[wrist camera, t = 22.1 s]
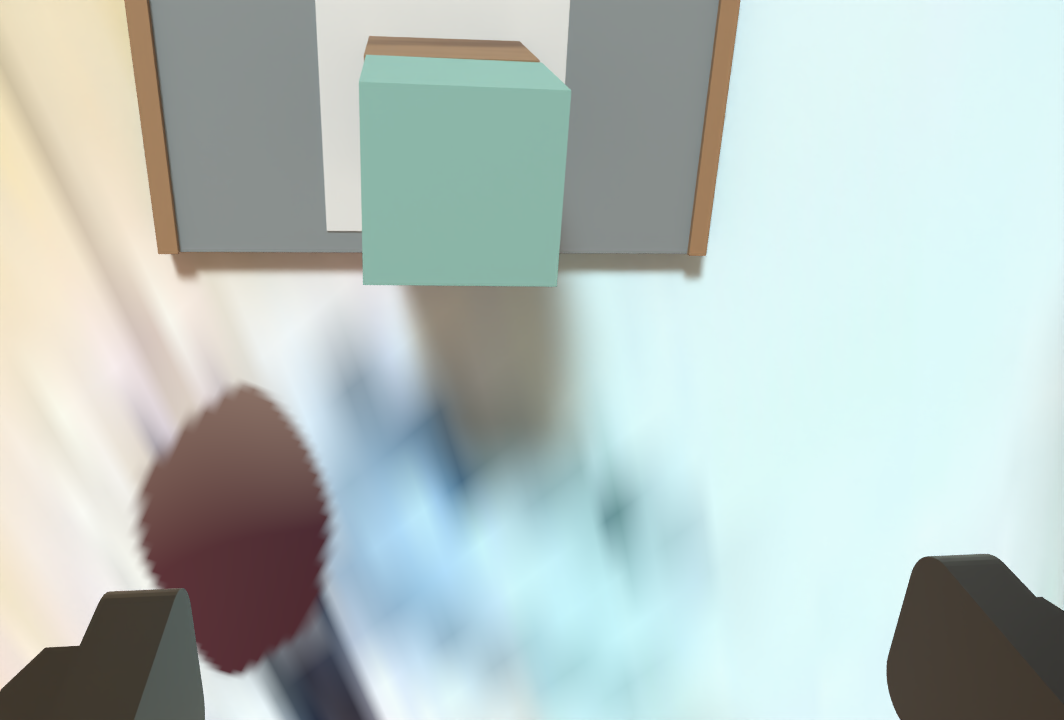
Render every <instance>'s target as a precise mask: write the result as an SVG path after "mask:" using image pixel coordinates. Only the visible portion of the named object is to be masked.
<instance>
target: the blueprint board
mask: <svg viewBox="0 0 1064 720" xmlns="http://www.w3.org/2000/svg"><path fill="white" fill-rule="evenodd" d="M124 1H125V8H126V16H127V23H128V31H129V38H130V46H131V53H132V61H133V68H134V76H135V83H136V91H137V98H138V106H139V113H140V120H141V128H142V135H143V143H144V150H145V158H146V165H147V173H148V180H149V188H150V195H151V203H152V210H153V218H154V225H155V233H156V240H157V247H158V254H178V253H179V252H362V209H361V163H360V117H359V79H360V75H361V72H362V68H363V64H364V52H365V49H366V45H367V42H368V38H369V36H386V37H414V38H443V39H472V40H501V41H520V42H521V43H522V44H523V45H524V46H525V47H526V48H527V49H528V50H529V51H530V52H531V53H532V54H534V55H535V56H536V57H537V58H538V59H539V60H540V62H541V63H543V64H544V65H545V66H546V67H547V68H548V69H549V70H550V71H552V72H553V73H554V74H555V75H556V76H557V77H558V78H559V79H560V80H561V81H562V82H563V83H564V84H565V85H566V86H567V87H568V88H569V89H570V90H571V102H570V115H569V129H568V142H567V156H566V169H565V182H564V196H563V209H562V222H561V236H560V249H559V253H668V254H688V255H689V256H706V250H707V243H708V236H709V228H710V221H711V214H712V206H713V199H714V191H715V184H716V177H717V169H718V162H719V154H720V147H721V140H722V132H723V125H724V118H725V110H726V103H727V95H728V88H729V81H730V73H731V66H732V58H733V51H734V44H735V36H736V29H737V22H738V14H739V7H740V0H124Z"/></svg>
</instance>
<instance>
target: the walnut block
mask: <svg viewBox="0 0 1064 720" xmlns="http://www.w3.org/2000/svg"><path fill="white" fill-rule="evenodd" d="M366 55H385V56H408V57H430V58H452V59H474V60H497V61H519V62H540V60H539V59H538V58H537V57H536V56H535V55H534V54H532V53H531V52H530V51H529V50H528V49H527V48H526V47H525V46H524V45H523V44H522V43H521V42H520V41H501V40H472V39H443V38H414V37H386V36H369V38H368V42H367V45H366V49H365V52H364V60H365V57H366Z"/></svg>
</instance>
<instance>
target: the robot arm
mask: <svg viewBox="0 0 1064 720" xmlns="http://www.w3.org/2000/svg"><path fill="white" fill-rule="evenodd" d="M887 684H888V689H889V693H890V697H891V700H892V703H893V706H894V708H895V711H896V713H897V715H898V716H899V718H900V720H1064V611H1063V610H1061V609H1060V608H1058V607H1057V606H1055V605H1054V604H1052V603H1051V602H1049V601H1047V600H1046V599H1044V598H1043V597H1036V596H1035V595H1034V594H1033V593H1032V592H1031V591H1030V590H1029V589H1028V588H1027V587H1026V586H1025V585H1024V584H1023V583H1022V582H1021V581H1020V580H1019V579H1018V578H1017V576H1016V575H1015V574H1014V573H1013V572H1012V571H1011V570H1010V569H1009V568H1008V567H1007V566H1006V565H1005V564H1004V563H1003V562H1002V561H1001V560H1000V559H998V558H997V557H995V556H993V555H990V554H972V555H950V556H928V557H923V558H922V559H920V560H919V561H918V562H917V563H916V564H915V566H914V568H913V570H912V573H911V576H910V580H909V583H908V587H907V591H906V594H905V598H904V601H903V605H902V608H901V612H900V616H899V619H898V623H897V626H896V630H895V633H894V637H893V641H892V644H891V648H890V651H889V655H888V660H887ZM0 720H205V706H204V695H203V688H202V681H201V674H200V667H199V660H198V653H197V646H196V639H195V632H194V625H193V618H192V611H191V604H190V599H189V596H188V594H187V591H186V590H185V589H183V588H179V589H157V590H135V591H113V592H107V593H106V594H104V595H103V597H102V598H101V600H100V602H99V604H98V606H97V608H96V610H95V612H94V615H93V617H92V619H91V621H90V624H89V626H88V628H87V630H86V633H85V635H84V637H83V639H82V642H81V644H80V646H68V647H49V648H44V649H43V650H42V651H41V652H40V653H39V654H38V655H37V656H36V657H35V658H34V659H33V660H32V661H31V662H30V663H29V664H28V665H26V666H25V667H24V668H23V669H22V670H21V671H20V672H19V673H18V674H17V675H16V676H15V677H14V678H13V679H12V680H11V681H10V682H8V683H7V684H6V685H5V686H4V687H3V688H2V689H1V691H0Z"/></svg>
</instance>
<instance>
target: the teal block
mask: <svg viewBox="0 0 1064 720" xmlns="http://www.w3.org/2000/svg"><path fill="white" fill-rule="evenodd" d="M570 102H571V90H570V89H569V88H568V87H567V86H566V85H565V84H564V83H563V82H562V81H561V80H560V79H559V78H558V77H557V76H556V75H555V74H554V73H553V72H552V71H550V70H549V69H548V68H547V67H546V66H545V65H544V64H543V63H541V62H519V61H497V60H474V59H452V58H430V57H408V56H385V55H366V57H365V60H364V64H363V68H362V72H361V75H360V79H359V117H360V163H361V209H362V256H363V285H436V286H545V287H557V276H558V262H559V249H560V236H561V222H562V209H563V196H564V182H565V169H566V156H567V142H568V129H569V115H570Z"/></svg>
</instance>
